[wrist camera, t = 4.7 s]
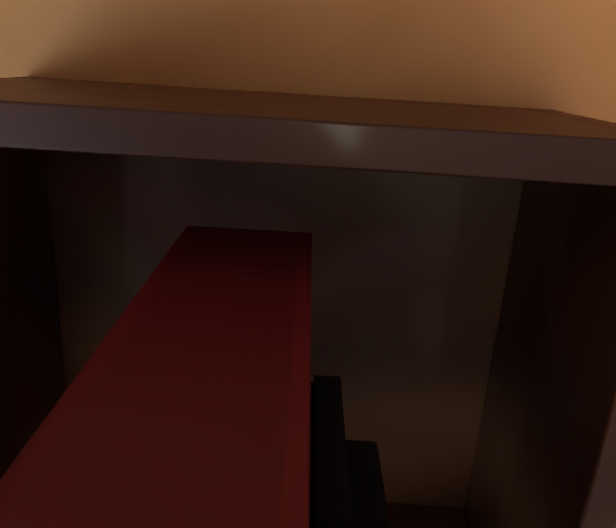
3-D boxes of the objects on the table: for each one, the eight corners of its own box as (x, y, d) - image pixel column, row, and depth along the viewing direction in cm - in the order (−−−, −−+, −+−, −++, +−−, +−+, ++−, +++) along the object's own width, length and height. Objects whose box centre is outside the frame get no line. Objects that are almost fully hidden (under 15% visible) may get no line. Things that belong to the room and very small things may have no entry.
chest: (24, 76, 17) (-202, 87, 10) (555, 110, 17) (729, 146, 10) (63, 483, 22) (-69, 696, 15) (478, 511, 22) (556, 739, 14)
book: (186, 224, 14) (-81, 585, 4) (311, 232, 14) (308, 604, 5) (189, 466, 16) (19, 1030, 7) (296, 472, 16) (274, 1043, 7)
